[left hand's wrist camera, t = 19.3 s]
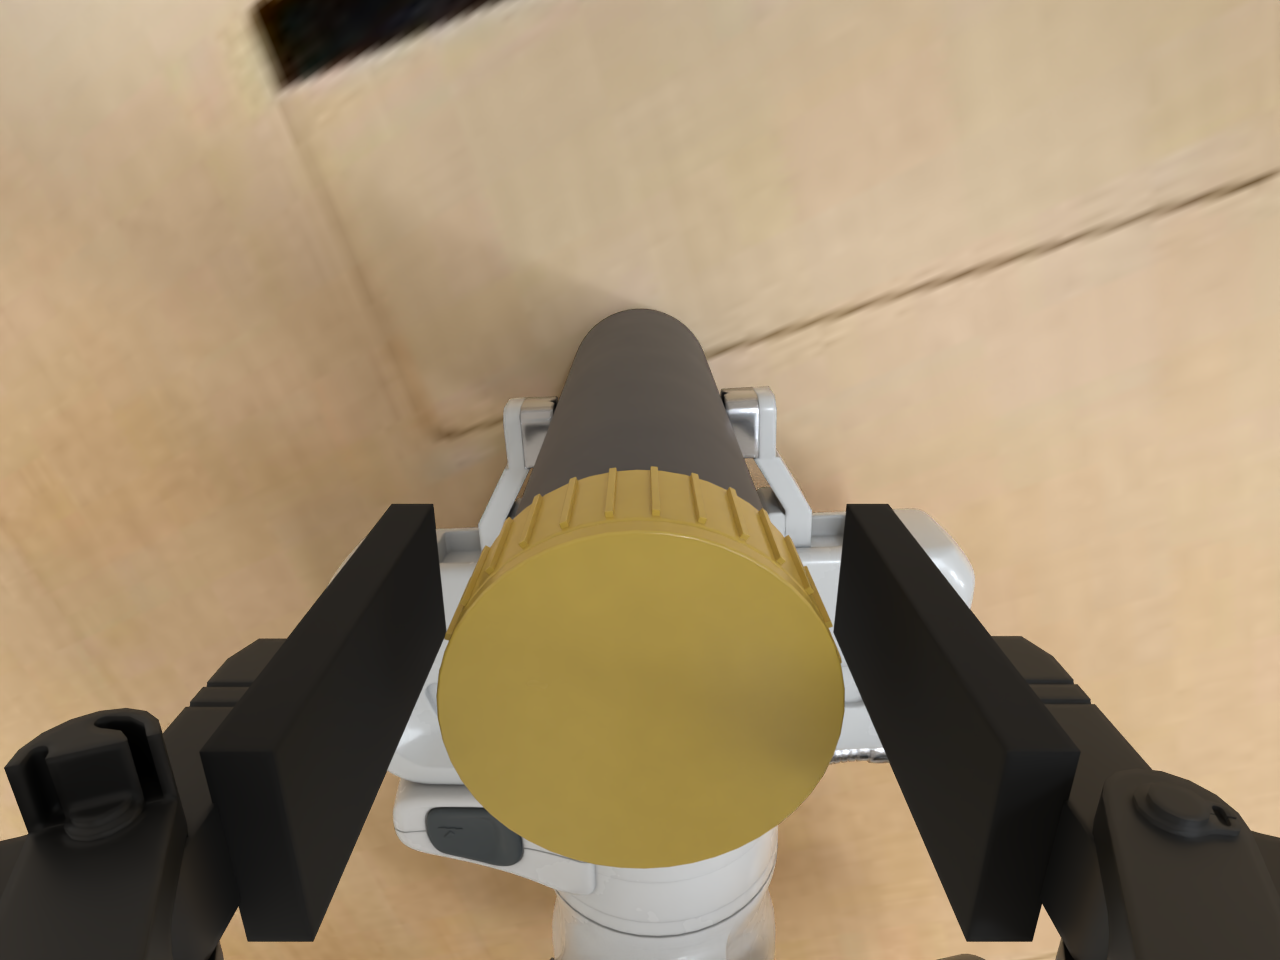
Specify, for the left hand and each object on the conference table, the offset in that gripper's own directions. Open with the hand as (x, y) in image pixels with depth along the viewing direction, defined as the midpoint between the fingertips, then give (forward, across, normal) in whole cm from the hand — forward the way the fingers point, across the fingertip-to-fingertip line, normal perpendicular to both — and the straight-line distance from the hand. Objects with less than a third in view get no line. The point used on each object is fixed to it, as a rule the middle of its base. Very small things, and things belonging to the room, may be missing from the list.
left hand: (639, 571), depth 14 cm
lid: (-4, 0, 0) cm, 4 cm away
